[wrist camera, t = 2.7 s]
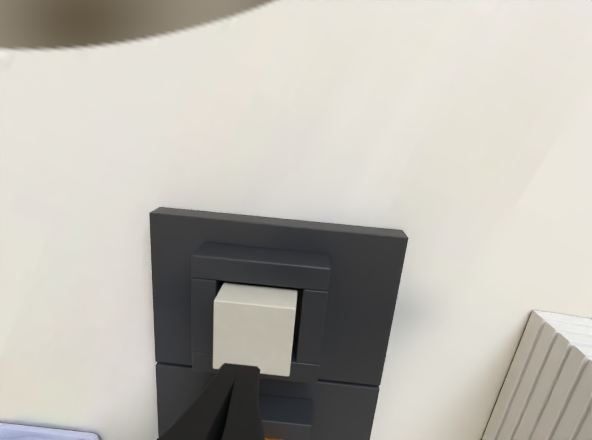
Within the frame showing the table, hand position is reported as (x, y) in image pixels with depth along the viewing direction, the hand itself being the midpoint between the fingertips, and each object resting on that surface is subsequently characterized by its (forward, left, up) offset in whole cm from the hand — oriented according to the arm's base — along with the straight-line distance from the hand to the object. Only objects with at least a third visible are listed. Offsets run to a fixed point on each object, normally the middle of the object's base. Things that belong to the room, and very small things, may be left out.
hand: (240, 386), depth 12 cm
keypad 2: (0, 0, -7) cm, 7 cm away
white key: (0, 0, -5) cm, 5 cm away
